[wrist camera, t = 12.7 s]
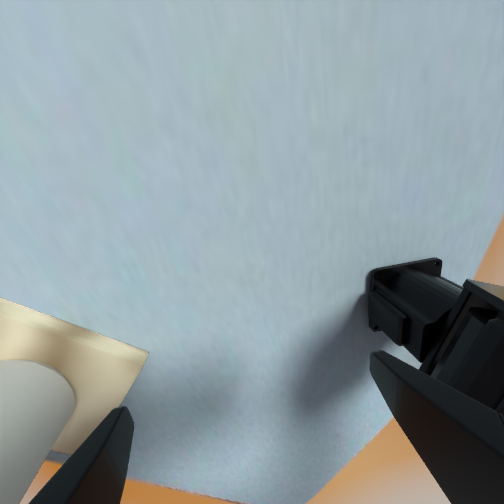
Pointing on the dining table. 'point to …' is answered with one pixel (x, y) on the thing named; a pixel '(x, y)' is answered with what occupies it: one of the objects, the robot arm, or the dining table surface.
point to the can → (29, 421)
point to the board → (72, 365)
